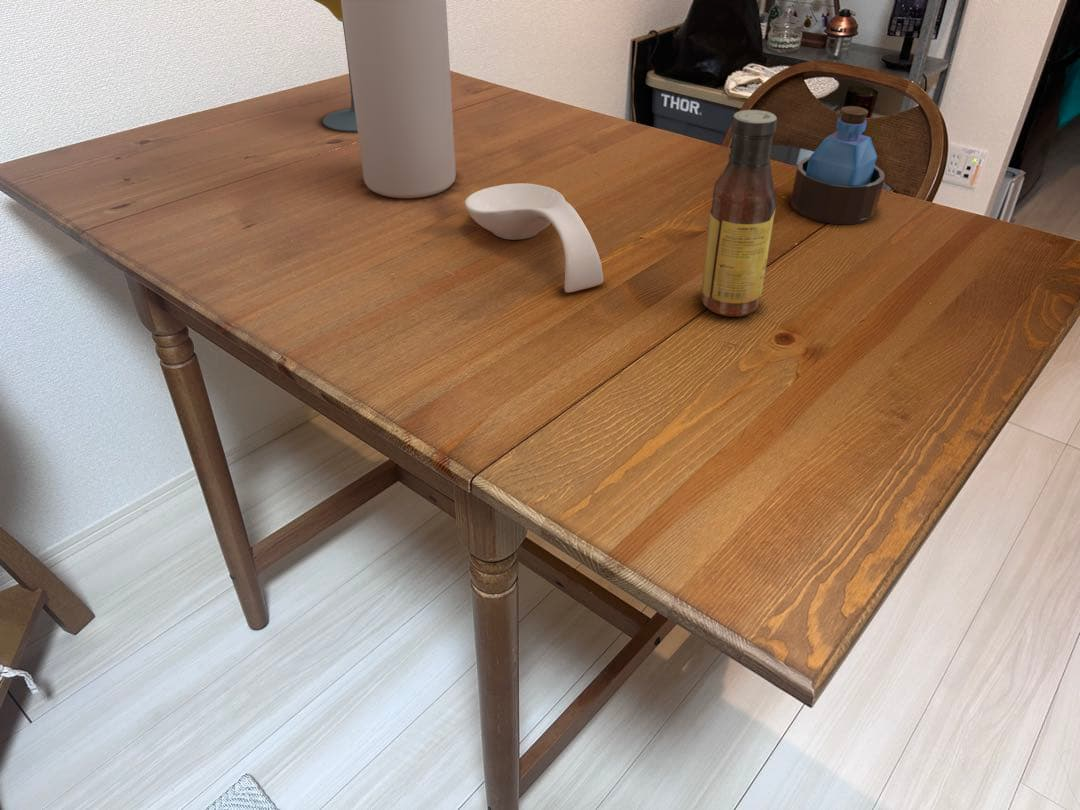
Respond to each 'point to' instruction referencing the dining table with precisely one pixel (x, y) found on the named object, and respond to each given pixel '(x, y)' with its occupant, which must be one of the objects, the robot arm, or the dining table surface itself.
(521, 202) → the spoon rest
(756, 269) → the sauce bottle
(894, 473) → the dining table surface
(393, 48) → the cylinder vase
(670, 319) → the dining table surface
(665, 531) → the dining table surface
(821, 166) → the perfume bottle
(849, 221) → the dark brown round bowl
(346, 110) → the cocktail glass
